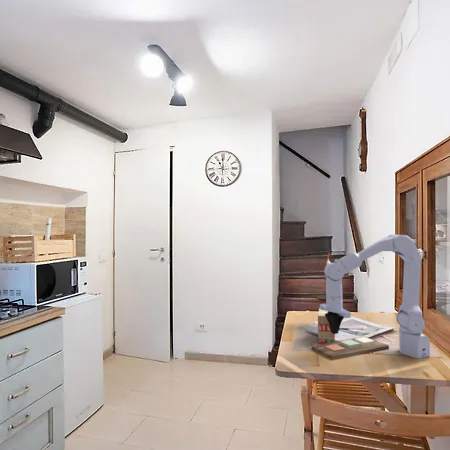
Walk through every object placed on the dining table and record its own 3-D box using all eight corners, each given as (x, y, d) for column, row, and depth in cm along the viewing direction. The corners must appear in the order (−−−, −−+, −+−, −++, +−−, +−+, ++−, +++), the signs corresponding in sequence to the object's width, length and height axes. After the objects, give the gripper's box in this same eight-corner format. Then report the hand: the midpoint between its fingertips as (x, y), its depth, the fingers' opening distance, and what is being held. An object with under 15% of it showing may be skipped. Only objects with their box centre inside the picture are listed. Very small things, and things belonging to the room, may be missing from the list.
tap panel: (388, 352, 135) (388, 345, 135) (332, 363, 125) (332, 356, 125) (364, 342, 147) (364, 336, 147) (311, 352, 136) (311, 345, 136)
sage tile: (360, 349, 135) (360, 343, 135) (349, 351, 133) (349, 345, 133) (350, 345, 139) (350, 339, 139) (340, 347, 137) (340, 341, 137)
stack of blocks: (320, 330, 162) (319, 303, 162) (334, 331, 160) (334, 303, 160) (318, 346, 142) (317, 315, 142) (334, 347, 140) (334, 315, 140)
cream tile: (374, 347, 137) (374, 340, 137) (364, 349, 135) (364, 342, 135) (364, 343, 142) (364, 337, 142) (354, 345, 140) (354, 338, 140)
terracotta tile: (345, 355, 132) (345, 348, 132) (334, 357, 130) (334, 350, 130) (335, 350, 136) (335, 344, 136) (325, 352, 135) (324, 346, 135)
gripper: (313, 293, 138) (313, 329, 138) (339, 300, 125) (339, 340, 125) (328, 292, 141) (328, 327, 141) (355, 298, 128) (355, 337, 128)
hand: (334, 333), depth 133 cm, fingers closed
